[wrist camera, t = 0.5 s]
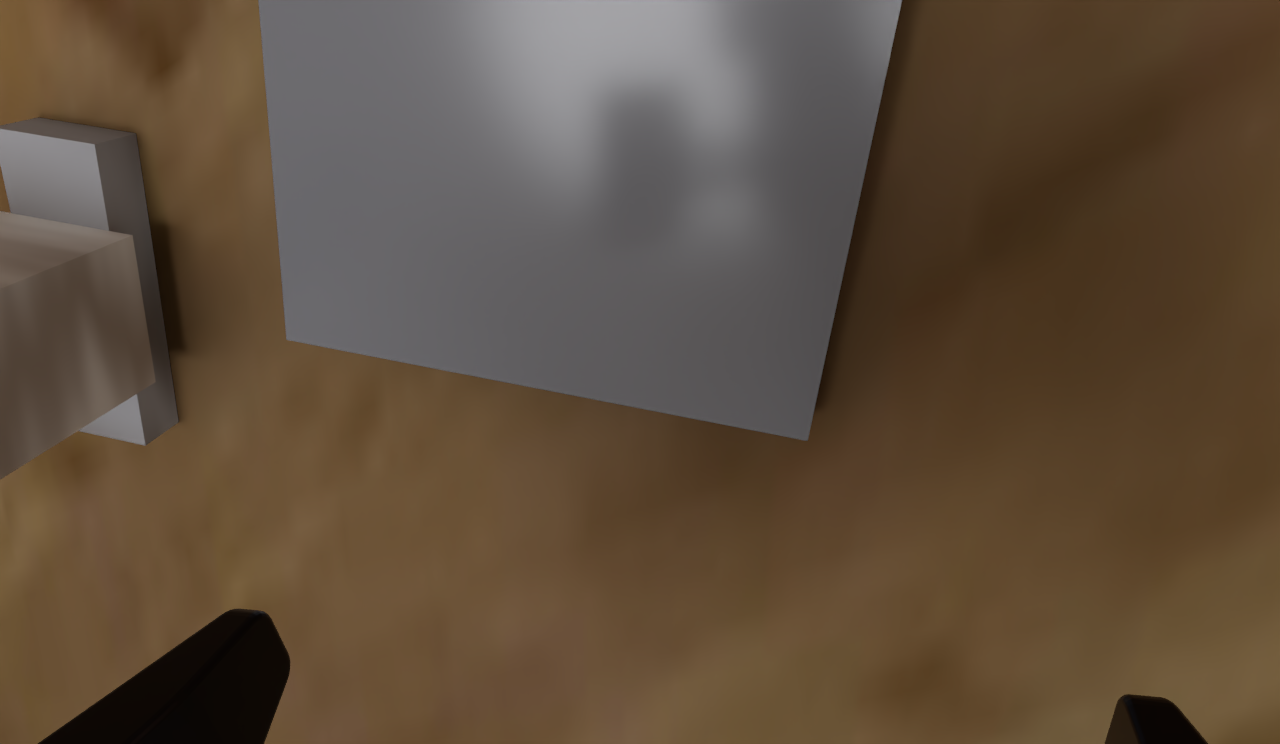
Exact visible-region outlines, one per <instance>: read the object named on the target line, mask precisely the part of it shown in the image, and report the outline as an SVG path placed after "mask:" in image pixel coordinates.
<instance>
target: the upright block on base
mask: <svg viewBox="0 0 1280 744" xmlns="http://www.w3.org/2000/svg"><path fill="white" fill-rule="evenodd" d="M0 165H1V169H2V174H3V179H4V183H5V188H6V192H7V197H8V202H9V206H10V211H11V213H7V212H2V211H0V479H2V478H3V477H5V476H7V475H8V474H10V473H11V472H13V471H15V470H16V469H18V468H19V467H21V466H23V465H24V464H26V463H27V462H29V461H31V460H32V459H34V458H35V457H37V456H38V455H40V454H42V453H43V452H45V451H46V450H48V449H50V448H51V447H53V446H54V445H56V444H58V443H59V442H61V441H62V440H64V439H66V438H67V437H69V436H70V435H72V434H74V433H75V432H77V431H81V432H86V433H90V434H95V435H100V436H104V437H109V438H113V439H118V440H122V441H127V442H131V443H136V444H141V445H145V446H146V445H147V444H148V443H150V442H151V441H153V440H154V439H155V438H157V437H158V436H160V435H161V434H163V433H164V432H165V431H167V430H168V429H170V428H171V427H172V426H174V425H175V424H177V423H178V422H179V421H178V414H177V407H176V400H175V394H174V387H173V380H172V373H171V367H170V360H169V353H168V346H167V340H166V333H165V326H164V319H163V313H162V306H161V299H160V292H159V286H158V279H157V272H156V265H155V259H154V252H153V245H152V238H151V232H150V225H149V218H148V211H147V205H146V198H145V191H144V184H143V177H142V171H141V164H140V157H139V150H138V144H137V137H136V133H131V132H125V131H118V130H112V129H106V128H100V127H94V126H88V125H82V124H75V123H69V122H63V121H57V120H51V119H45V118H34V119H29V120H25V121H20V122H15V123H11V124H6V125H1V126H0Z"/></svg>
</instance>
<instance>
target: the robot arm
mask: <svg viewBox="0 0 1280 744" xmlns="http://www.w3.org/2000/svg"><path fill="white" fill-rule="evenodd" d="M289 672H290V658H289V654H288V652H287V650H286V648H285V646H284V644H283V642H282V640H281V638H280V636H279V633H278V631H277V629H276V627H275V625H274V623H273V621H272V619H271V618H270V616H269V615H268V614H267V613H265V612H263V611H258V610H247V609H233V610H229V611H227V612H225V613H224V614H222V615H221V616H219V617H218V618H216V619H215V620H213V621H212V622H211V623H209V624H208V625H206V626H205V627H203V628H202V629H201V630H199V631H198V632H196V633H195V634H193V635H192V636H191V637H189V638H188V639H186V640H185V641H183V642H182V643H181V644H179V645H178V646H176V647H175V648H173V649H172V650H171V651H169V652H168V653H166V654H165V655H163V656H162V657H161V658H159V659H158V660H156V661H155V662H154V663H152V664H151V665H149V666H148V667H146V668H145V669H144V670H142V671H141V672H139V673H138V674H136V675H135V676H134V677H132V678H131V679H129V680H128V681H126V682H125V683H124V684H122V685H121V686H119V687H118V688H116V689H115V690H114V691H112V692H111V693H109V694H108V695H106V696H105V697H104V698H102V699H101V700H99V701H98V702H96V703H95V704H94V705H92V706H91V707H89V708H88V709H86V710H85V711H84V712H82V713H81V714H79V715H78V716H77V717H75V718H74V719H72V720H71V721H69V722H68V723H67V724H65V725H64V726H62V727H61V728H59V729H58V730H57V731H55V732H54V733H52V734H51V735H49V736H48V737H47V738H45V739H44V740H42V741H41V742H39V743H38V744H264V742H265V739H266V737H267V734H268V731H269V729H270V726H271V723H272V720H273V718H274V715H275V712H276V710H277V707H278V704H279V702H280V699H281V696H282V693H283V691H284V688H285V685H286V683H287V680H288V676H289ZM1105 744H1208V743H1207V742H1206V741H1205V739H1204V738H1203V737H1202V736H1201V735H1200V733H1199V732H1198V731H1197V730H1196V729H1195V727H1194V726H1193V725H1192V724H1191V723H1190V721H1189V720H1188V719H1187V718H1186V717H1185V715H1184V714H1183V713H1182V712H1181V711H1180V709H1179V708H1178V707H1177V706H1176V705H1175V704H1174V703H1172V702H1171V701H1169V700H1167V699H1165V698H1161V697H1151V696H1141V695H1130V694H1128V695H1123V696H1122V697H1121V698H1120V699H1119V700H1118V702H1117V705H1116V708H1115V711H1114V715H1113V718H1112V721H1111V725H1110V728H1109V731H1108V735H1107V738H1106V741H1105Z"/></svg>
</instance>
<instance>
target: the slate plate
mask: <svg viewBox="0 0 1280 744" xmlns="http://www.w3.org/2000/svg"><path fill="white" fill-rule="evenodd" d="M258 1H259V13H260V25H261V37H262V49H263V61H264V73H265V85H266V97H267V109H268V121H269V134H270V146H271V158H272V170H273V182H274V194H275V206H276V218H277V230H278V242H279V254H280V266H281V279H282V291H283V303H284V315H285V327H286V339H287V340H290V341H295V342H301V343H306V344H311V345H316V346H321V347H326V348H331V349H337V350H342V351H347V352H352V353H357V354H362V355H367V356H373V357H378V358H383V359H388V360H393V361H398V362H404V363H409V364H414V365H419V366H424V367H429V368H434V369H440V370H445V371H450V372H455V373H460V374H465V375H470V376H476V377H481V378H486V379H491V380H496V381H501V382H506V383H512V384H517V385H522V386H527V387H532V388H537V389H542V390H548V391H553V392H558V393H563V394H568V395H573V396H579V397H584V398H589V399H594V400H599V401H604V402H609V403H615V404H620V405H625V406H630V407H635V408H640V409H645V410H651V411H656V412H661V413H666V414H671V415H676V416H681V417H687V418H692V419H697V420H702V421H707V422H712V423H717V424H723V425H728V426H733V427H738V428H743V429H748V430H754V431H759V432H764V433H769V434H774V435H779V436H784V437H790V438H795V439H800V440H805V441H808V437H809V432H810V427H811V423H812V418H813V413H814V409H815V404H816V399H817V395H818V390H819V385H820V381H821V376H822V371H823V367H824V362H825V357H826V353H827V348H828V343H829V339H830V334H831V329H832V325H833V320H834V315H835V311H836V306H837V301H838V297H839V292H840V287H841V283H842V278H843V273H844V269H845V264H846V259H847V255H848V250H849V245H850V241H851V236H852V231H853V227H854V222H855V217H856V213H857V208H858V203H859V199H860V194H861V189H862V185H863V180H864V175H865V171H866V166H867V162H868V157H869V152H870V148H871V143H872V138H873V134H874V129H875V124H876V120H877V115H878V110H879V106H880V101H881V96H882V92H883V87H884V82H885V78H886V73H887V68H888V64H889V59H890V54H891V50H892V45H893V40H894V36H895V31H896V26H897V22H898V17H899V12H900V8H901V3H902V0H258Z"/></svg>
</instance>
